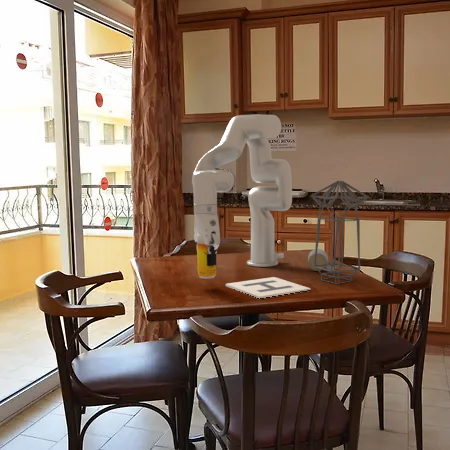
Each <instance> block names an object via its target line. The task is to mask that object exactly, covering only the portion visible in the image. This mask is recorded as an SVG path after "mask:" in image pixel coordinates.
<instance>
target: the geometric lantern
mask: <svg viewBox="0 0 450 450" xmlns="http://www.w3.org/2000/svg"><path fill="white" fill-rule="evenodd" d="M339 189H340V194H341V195H340V196H339ZM325 190H326V191H325ZM323 191H325V193H323V194H322V195H321V196H320V195H318V194H319V193H321V192H323ZM353 191H355V192H356V193H358V194H360V195H362V196H357V195H356V194H355V193H354V192H353ZM334 194H335V195H334ZM347 194H348V195H347ZM310 198H312V200H313V201H314V202H316V204H317V205H318V206H319V209H318V210H319V211H318V213H317V217H316V218H317V223H316V236H315V237H316V238H315V260H314V268H316V269H317V270H318V269H322V271H326V272H323V273H322V271H319V270H318V271H317V272H318V273H319V274H320V276H321V278H320V280H321V282H322V281H323V282H325V281H326V283H329V282H331V283H330V284H333V283H334V285H341V284H340V283H342V284H347V283H351V281H352V282H353V277H354V276H355V275H356V274H358V273H359V272H361V255H360V253H361V251H360V249H361V245H360V244H361V240H360V239H361V238H360V237H361V236H360V234H361V233H360V230H361V229H360V226H361V225H360V224H361V223H360V222H361V221H360V220H361V219H360V218H359V213H358V212H359V211H358V207H359V206H360V204H362V203H363V202H365V201H366V200H367V199H370V198H371V197H370V196H369V195H367V194H365V193H363V192H362V191H360V190H358V189H357V188H355V187H353V186H352V185H351V184H348V183H347V182H346V181H344V180H336V181H335V182H333V183H331V184H328V185H327V186H326V187H324V188H322V189H320V190H319V191H317V192H315V193H313V194H311V195H310ZM322 199H323V202H322V201H321V200H322ZM337 199H340V200H341V201H342V202H343V203H344V205H345V206H346V207H345V209H344V210H343V211H342V213H341V214H340V215H339V216H338V215H337V213H336V211H334V209H333V207H332V205H333V204H334V202H335V201H336V200H337ZM327 200H329V202H328V203H327V202H326V201H327ZM351 201H352V203H351ZM354 202H355V203H354ZM329 207H330V208H329ZM324 208H326V209H327V211H328V213H329V215H330V217H329V216H328V217H327V216H326V217H322V214H323V212H324ZM353 208H354V212H355V217H356V218H352V217H346V215H347V213H348V212H349V210H350V209H353ZM330 209H331V210H332V212H333V213H334V215H335V216H334V215H333V213H332V212H331V210H330ZM342 215H343V216H342ZM321 220H323V221H330V222H332V233H331V234H332V238H331V239H332V240H331V253H330V254H331V255H330V258H331V259H330V263H331V264H323V265H316V258H317V249H319V239H320V230H321ZM335 222H336V227H335ZM344 222H356V235H357V256H358V257H357V263H358V264H357V266H353V265H349V264H345V263H343V259H344V256H343V255H344ZM335 229H336V230H335ZM334 240H335V241H334ZM337 244H338V246H337ZM337 247H338V249H337ZM337 250H338V263H336V256H337ZM327 265H331V270H329V269H326V268H325V269H324V268H320V267H318V266H327ZM332 265H334V271H332ZM335 266H338V269H337V270H336V269H335ZM342 266H343V267H347V268H353V269H343V270H341V268H342ZM346 272H353V273H346ZM328 274H329V275H328ZM330 274H332V275H330ZM341 274H342V276H340V275H341ZM323 276H326V277H325V278H323ZM328 278H329V279H333V278H334V282H332V281H328ZM322 279H323V280H322ZM326 279H327V280H326ZM337 279H338V280H337ZM340 279H342V280H347V281H343V282H341V281H340ZM350 280H351V281H350ZM346 282H347V283H346Z"/></svg>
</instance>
